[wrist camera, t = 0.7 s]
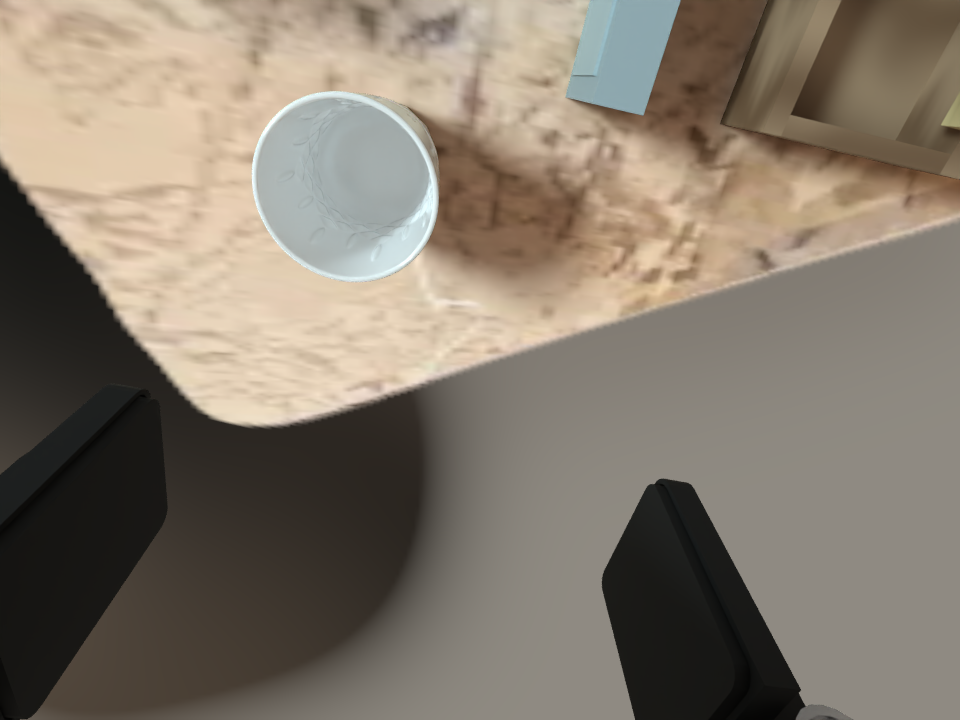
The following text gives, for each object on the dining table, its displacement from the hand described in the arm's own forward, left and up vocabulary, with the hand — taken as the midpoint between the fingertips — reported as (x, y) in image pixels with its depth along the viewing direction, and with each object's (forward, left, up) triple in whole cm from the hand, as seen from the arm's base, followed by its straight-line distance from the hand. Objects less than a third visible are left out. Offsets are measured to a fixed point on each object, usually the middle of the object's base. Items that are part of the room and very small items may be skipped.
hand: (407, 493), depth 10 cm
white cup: (-2, -4, -26) cm, 26 cm away
